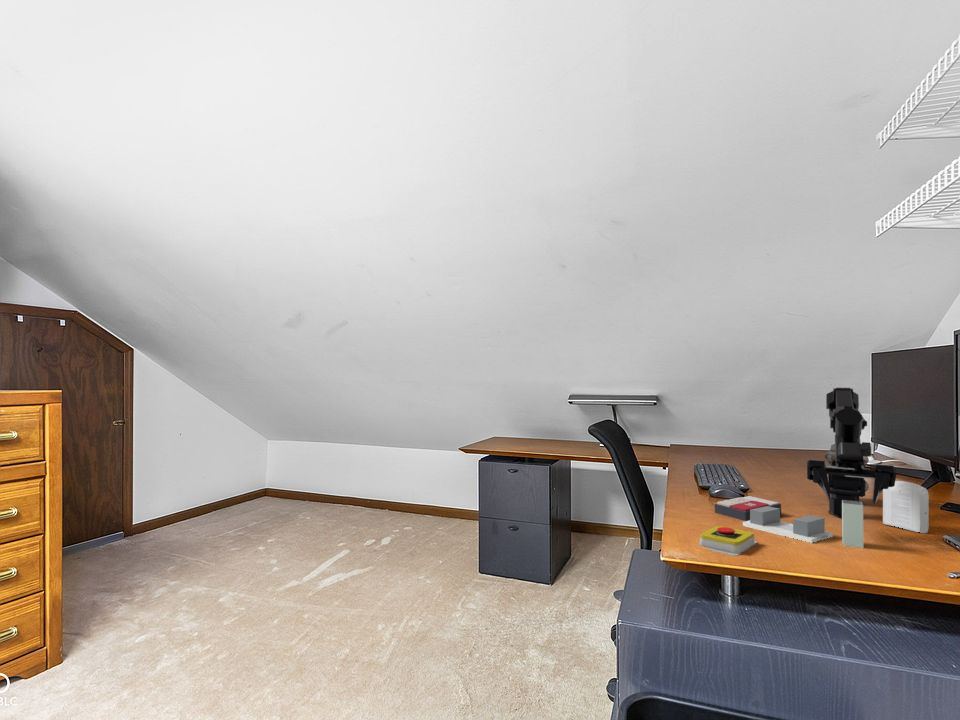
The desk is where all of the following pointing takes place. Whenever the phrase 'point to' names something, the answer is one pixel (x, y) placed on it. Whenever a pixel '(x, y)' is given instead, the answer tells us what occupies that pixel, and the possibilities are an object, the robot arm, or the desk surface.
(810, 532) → the rail board
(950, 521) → the desk surface
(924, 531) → the white rounded upright block
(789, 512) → the desk surface
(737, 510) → the calculator
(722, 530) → the emergency button
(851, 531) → the block
